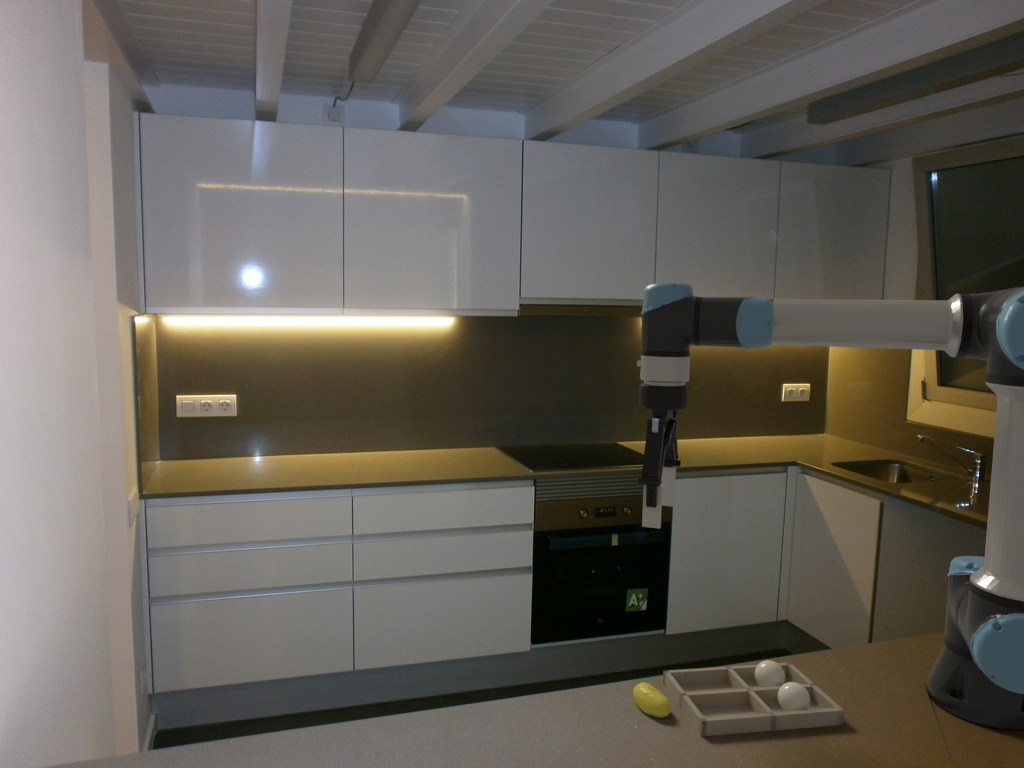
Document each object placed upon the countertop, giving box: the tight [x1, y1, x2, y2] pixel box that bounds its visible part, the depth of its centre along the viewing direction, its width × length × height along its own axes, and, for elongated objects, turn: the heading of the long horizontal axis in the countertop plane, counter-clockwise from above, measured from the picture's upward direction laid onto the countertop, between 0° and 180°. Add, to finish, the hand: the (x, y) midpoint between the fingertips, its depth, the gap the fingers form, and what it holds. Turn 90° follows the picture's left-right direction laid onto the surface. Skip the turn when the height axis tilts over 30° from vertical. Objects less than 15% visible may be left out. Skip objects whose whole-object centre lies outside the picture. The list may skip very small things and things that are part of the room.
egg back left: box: [778, 682, 810, 712], centre depth 113 cm, size 5×5×5 cm
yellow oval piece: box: [632, 681, 672, 719], centre depth 114 cm, size 4×8×4 cm, turn 20°
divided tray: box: [662, 662, 845, 737], centre depth 115 cm, size 22×15×3 cm
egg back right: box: [755, 659, 785, 687], centre depth 120 cm, size 5×5×5 cm
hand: (659, 515), depth 120 cm, fingers open, 13 cm apart
